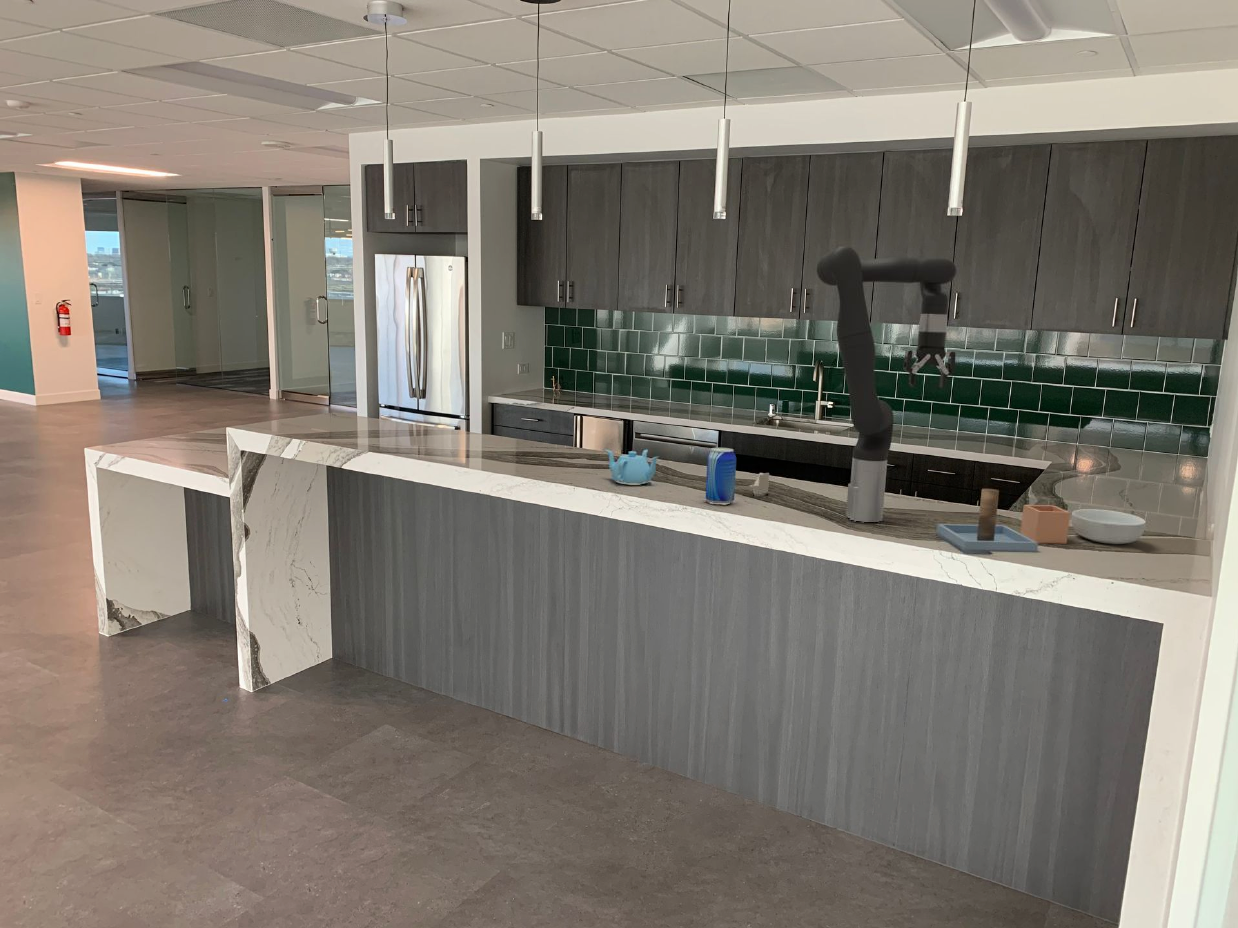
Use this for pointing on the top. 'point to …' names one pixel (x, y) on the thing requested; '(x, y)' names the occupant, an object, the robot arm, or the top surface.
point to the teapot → (632, 467)
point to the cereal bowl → (1107, 526)
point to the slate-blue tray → (967, 541)
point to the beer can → (721, 475)
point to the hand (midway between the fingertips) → (927, 387)
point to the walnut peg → (987, 515)
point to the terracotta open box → (1045, 523)
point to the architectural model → (761, 484)
